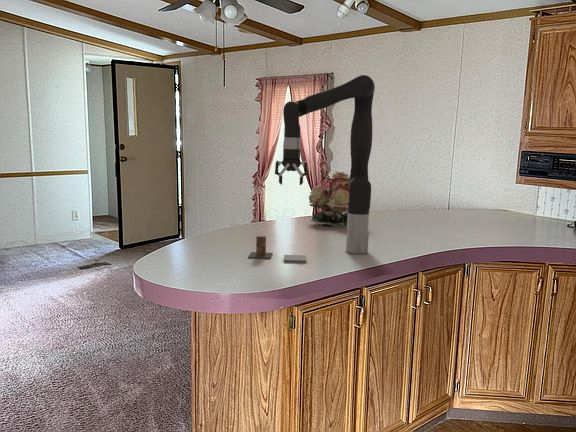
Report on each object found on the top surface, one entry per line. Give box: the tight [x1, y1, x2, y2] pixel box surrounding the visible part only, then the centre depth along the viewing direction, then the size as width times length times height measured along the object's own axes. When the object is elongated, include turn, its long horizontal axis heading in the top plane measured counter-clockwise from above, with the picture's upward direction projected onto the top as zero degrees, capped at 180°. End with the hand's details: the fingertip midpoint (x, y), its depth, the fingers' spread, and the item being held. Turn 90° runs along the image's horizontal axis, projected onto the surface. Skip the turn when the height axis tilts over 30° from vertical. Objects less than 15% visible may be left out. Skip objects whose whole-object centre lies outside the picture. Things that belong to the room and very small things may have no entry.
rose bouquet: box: [308, 171, 350, 228], centre depth 303 cm, size 26×29×30 cm
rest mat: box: [248, 251, 273, 260], centre depth 219 cm, size 9×9×1 cm
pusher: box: [255, 234, 267, 256], centre depth 218 cm, size 4×4×8 cm
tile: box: [283, 254, 307, 264], centre depth 214 cm, size 9×2×9 cm
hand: (290, 184), depth 234 cm, fingers open, 8 cm apart
